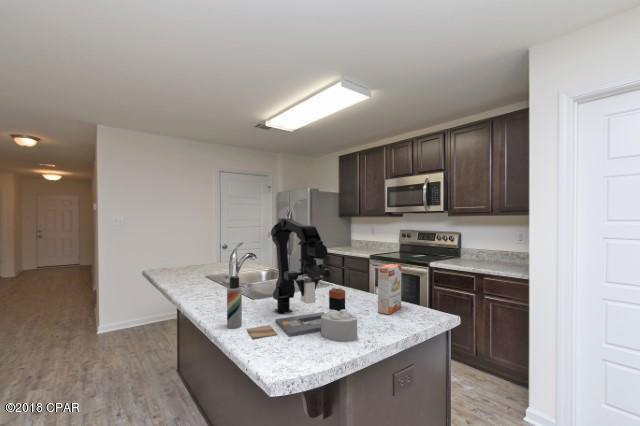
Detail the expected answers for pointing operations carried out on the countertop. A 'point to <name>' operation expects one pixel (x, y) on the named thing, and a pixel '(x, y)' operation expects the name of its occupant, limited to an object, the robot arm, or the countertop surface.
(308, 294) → the plug
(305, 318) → the grey square tray
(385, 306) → the cracker box
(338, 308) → the battery
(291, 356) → the countertop surface
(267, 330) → the rest pad
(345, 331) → the lumpy-topped squat cylinder
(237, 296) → the lotion bottle
